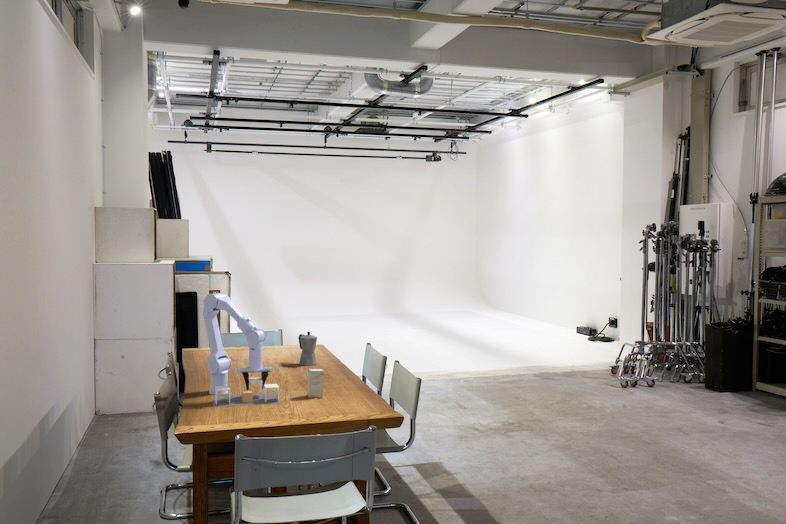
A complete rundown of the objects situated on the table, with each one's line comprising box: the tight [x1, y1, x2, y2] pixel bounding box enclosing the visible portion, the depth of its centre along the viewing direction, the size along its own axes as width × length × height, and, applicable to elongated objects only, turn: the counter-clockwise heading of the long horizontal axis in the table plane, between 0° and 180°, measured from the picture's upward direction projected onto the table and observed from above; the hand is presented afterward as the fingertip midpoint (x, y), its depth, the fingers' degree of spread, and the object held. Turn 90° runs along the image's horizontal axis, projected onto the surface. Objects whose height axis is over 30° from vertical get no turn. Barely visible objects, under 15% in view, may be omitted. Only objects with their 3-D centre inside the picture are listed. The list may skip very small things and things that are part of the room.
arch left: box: [214, 385, 231, 405], centre depth 274 cm, size 6×6×6 cm
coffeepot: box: [298, 331, 318, 367], centre depth 362 cm, size 15×9×18 cm, turn 44°
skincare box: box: [307, 368, 325, 398], centre depth 291 cm, size 6×4×12 cm
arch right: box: [263, 383, 280, 402], centre depth 280 cm, size 6×6×6 cm
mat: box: [210, 393, 283, 408], centre depth 280 cm, size 17×28×1 cm, turn 109°
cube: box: [241, 390, 254, 403], centre depth 277 cm, size 4×4×4 cm
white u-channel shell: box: [246, 377, 263, 395], centre depth 285 cm, size 6×6×6 cm
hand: (254, 389), depth 285 cm, fingers closed on white u-channel shell, 6 cm apart
